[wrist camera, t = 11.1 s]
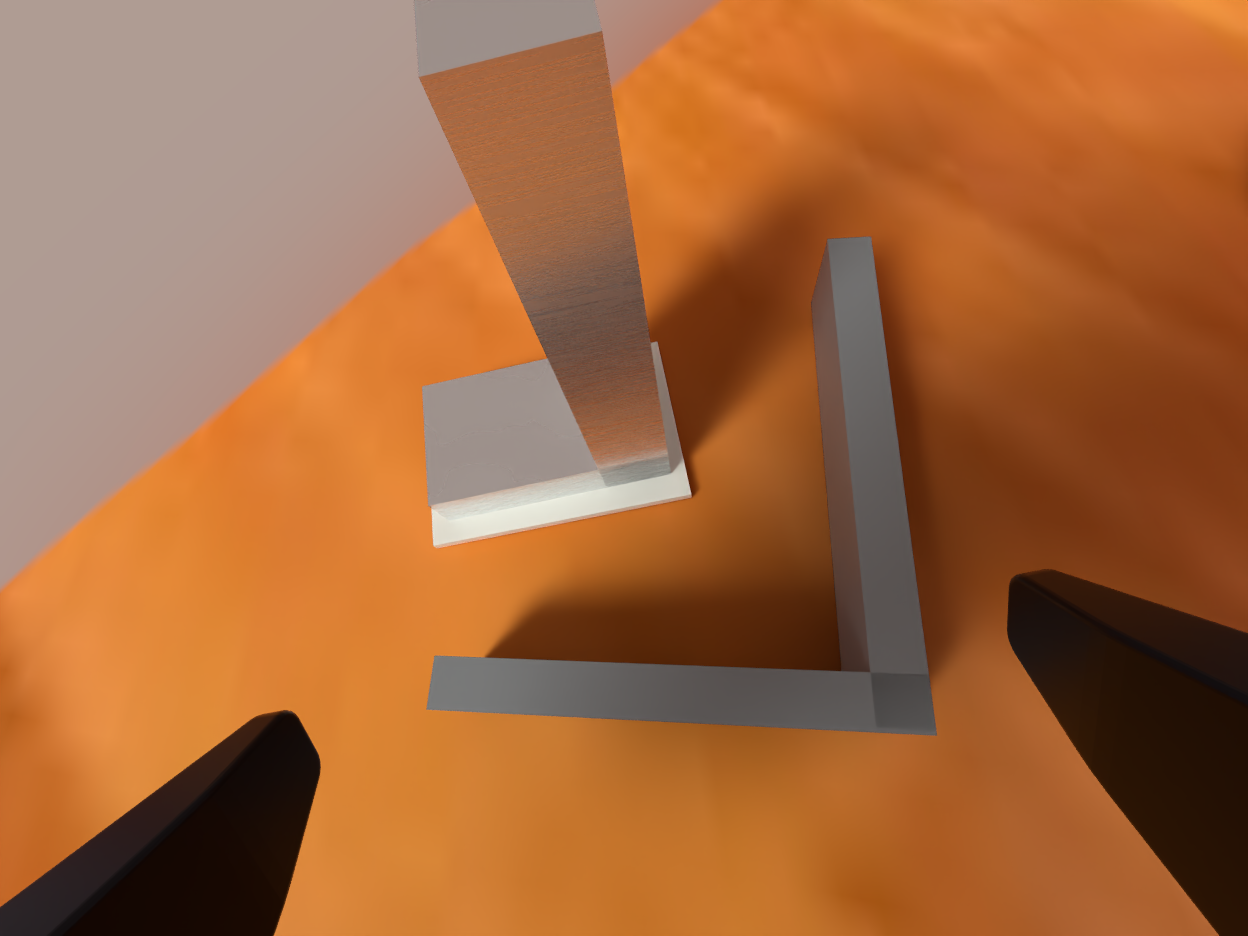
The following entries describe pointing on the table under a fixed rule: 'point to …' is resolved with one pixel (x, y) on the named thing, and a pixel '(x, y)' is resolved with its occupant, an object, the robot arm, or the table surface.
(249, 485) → the table surface
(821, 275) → the corner wall
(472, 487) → the bracket
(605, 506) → the plate
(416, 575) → the table surface
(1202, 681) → the robot arm
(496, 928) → the table surface
